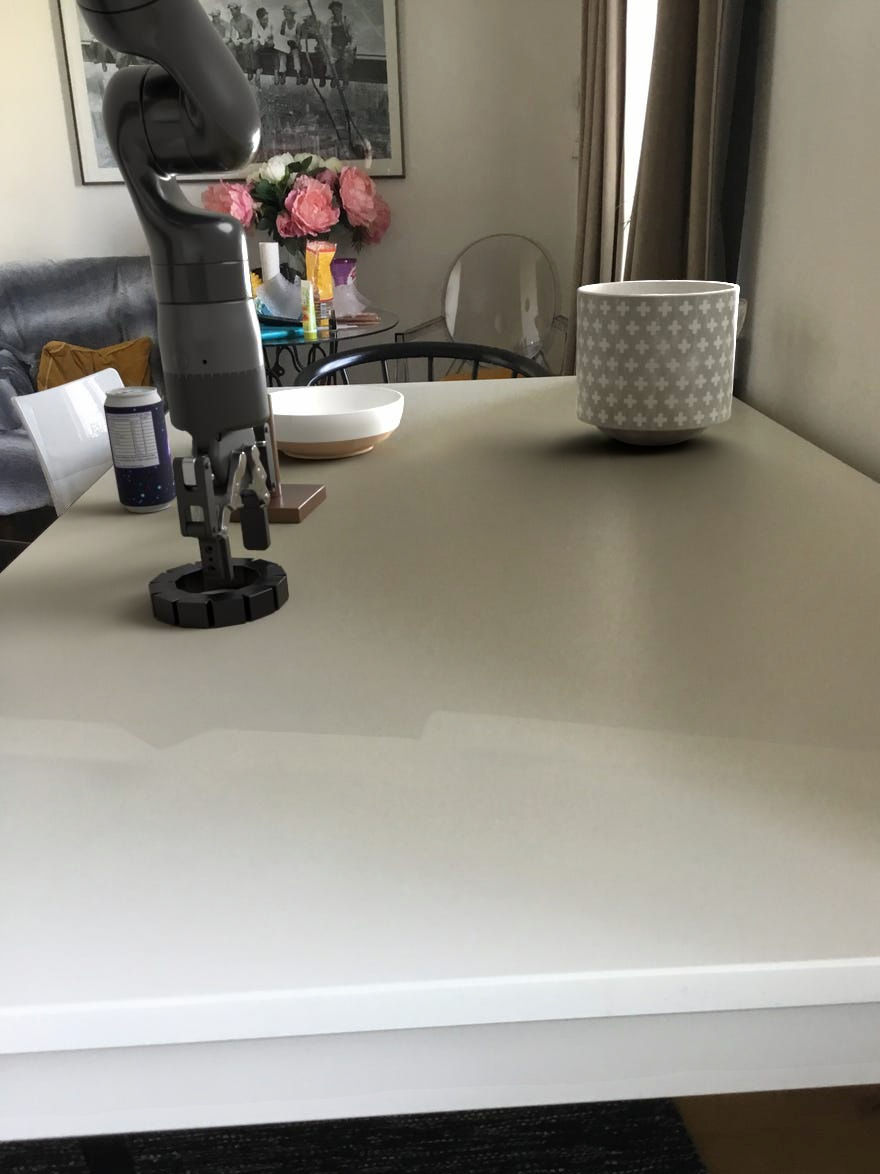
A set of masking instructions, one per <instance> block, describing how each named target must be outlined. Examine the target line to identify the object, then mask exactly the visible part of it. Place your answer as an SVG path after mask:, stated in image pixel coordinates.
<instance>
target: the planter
mask: <svg viewBox="0 0 880 1174" xmlns="http://www.w3.org/2000/svg"><path fill="white" fill-rule="evenodd" d="M739 295H740V286H739V285H738V284H734V283H728V282H721V281H710V280H709V281H705V280H634V281H633V280H632V281H616V282H615V281H614V282H603V283H595V284H588V285H583V286H579V287H578V288H577V289H576V358H575V359H576V361H575V362H576V363H575V365H576V367H575V370H576V371H575V372H576V375H575V376H576V377H575V379H576V380H575V417H576V419H578V420H579V421H580V422H583V423H585V424H588V425H592V426H595V427H596V428H597V429H598V430H599V431H601V432H602V433H603V434H605V435H607V436H609V437H611V438H612V439H615V440H617V441H620V442H622V443H626V444H629V445H635V446H646V447H647V446H649V447H650V446H651V447H656V446H657V447H660V446H670V445H675V444H680V443H682V442H685V441H689V440H690V439H692V438H695V437H696V436H698V435H700V434H703V432H705V431H706V430H707V429H708V428H710V427H712V426H717V425H721V424H723V423H725V422H727V421H728V420H729V419H730V418H731V415H732V404H733V403H732V402H733V401H732V400H733V388H734V387H733V386H734V373H735V356H736V342H737V341H736V340H737V329H738V328H737V326H738V311H739V310H738V309H739V297H740V296H739Z"/></svg>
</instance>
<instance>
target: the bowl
mask: <svg viewBox="0 0 880 1174" xmlns="http://www.w3.org/2000/svg"><path fill="white" fill-rule="evenodd" d="M268 394H271V395H272V405H273V415H274V424H275V434H276V443H277V450H278V451H281V452H283V453H284V454H285V455H287V456H288V457H292V458H295V459H305V460H331V459H341V458H342V459H343V458H349V457H353V456H359V455H361V454H365V453H368V452H370V451H371V450H372V449H373V448H374V446H375V445H377V444H379V443H381V442H383V441H385V440H386V439H387V438H389V437H390V435H391V434H392V433H393V432H394V431H395V430H396V428H397V427H399V425H400V421H401V418H402V415H403V411H404V395H403V394H402V393H401V392H399V391H397V390H393V389H390V388H384V387H378V386H377V387H375V386H366V385H365V386H364V385H363V386H361V385H335V386H334V385H330V386H329V385H327V386H314V387H303V388H294V389H286V390H281V391H280V390H279V391H274V392H268Z"/></svg>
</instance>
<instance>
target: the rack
mask: <svg viewBox="0 0 880 1174" xmlns="http://www.w3.org/2000/svg"><path fill="white" fill-rule="evenodd" d="M267 394H268V403H269V412H270V416H269V418H268V420H267V421H266V422H267V423H268V425H269V431H270V439H271V447H272V455H273V462H274V470H275V478H276V490H275V492H269V494H270V501H269V504H268V505H265V506H267V515H268V523H282V524H283V523H286V524H287V523H288V524H291V523H292V524H301V523H302V522H303V520H305V519H306V518H307V517H308V516H309V515H310V514H311V513H312V512H313V511H314V510H316V509H317V508H318V506H320V505H321V504H322V503H323V502H324V501H325V500H326V499H327V488H326V484H325V483H322V484H318V483H315V484H313V483H282V481H281V473H280V472H281V471H280V464H279V463H280V462H279V454H278V453H279V452H278V449H277V443H276V434H275V424H274V415H273V405H272V395H271V394H269V393H267ZM263 468H264V467H263ZM241 506H244V504H239V503H238V506H237V509H236V510H235V511H233V512H231V514H230V521H229V522H235V523H236V522H237V523H241V522H240V514H239V508H240V507H241ZM216 517H217V518H218V511H216Z"/></svg>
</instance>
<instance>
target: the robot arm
mask: <svg viewBox="0 0 880 1174" xmlns="http://www.w3.org/2000/svg"><path fill="white" fill-rule="evenodd" d="M75 2H76V5H77V7H78V9H79V11H80V14H81V16H82V18H83V21H84V22H85V24H86V27H87V28H88V30H89V32H90V33H91V35H92V36H93V37H94V39H95V40H96V41H97V42H98V43H99V44H100V45H102V46H104V48H107V49H109V50H111V51H114V52H117V53H119V54H120V53H121V54H125V55H128V56H133V57H137V58H141V59H144V60H148V61H150V62H153V63H154V64H136V65H128V66H124V67H121V68H119V69H118V70H116V71H115V72H114V73H113V74H112V76H111V77H110V78H109V80H108V82H107V84H106V86H105V89H104V91H103V96H102V103H101V119H102V127H103V131H104V134H105V138H106V140H107V144H108V147H109V149H110V151H111V154H112V157H113V159H114V161H115V164H116V166H117V168H118V171H119V172H120V175H121V178H122V180H123V182H124V184H125V186H126V189H127V191H128V194H129V196H130V199H131V203H132V204H133V207H134V210H135V212H136V215H137V218H138V221H139V223H140V226H141V230H142V232H143V235H144V238H145V240H146V244H147V247H148V254H149V259H150V260H149V261H150V267H151V274H152V281H153V288H154V295H155V300H156V310H157V338H158V339H157V340H158V345H159V346H158V347H159V352H160V357H161V358H160V359H161V365H162V373H163V379H164V386H165V394H166V399H167V400H166V401H167V407H168V413H169V419H170V424H171V425H172V427H173V428H175V429H176V430H178V431H181V432H186V433H187V434H189V435H190V437H191V456H175V457H173V459H172V469H173V476H174V483H175V490H176V498H175V499H176V505H177V512H178V521H179V528H180V529H179V530H180V534H181V536H182V537H183V538H194V539H197V540H198V541H197V542H198V547H199V553H200V561H201V562H202V569H203V576H204V580H205V581H206V582H207V583H208V584H228V583H230V582H231V581H232V580H233V578H234V573H233V565H232V558H233V557H232V551H231V543H230V537H229V535H228V534H229V527H230V522H231V521H230V514H231V512H233V511H235V510H236V509H237V506H238V503H239V504H244V506H241V507H240V508H239V514H240V522H239V523H240V530H241V537H242V544H243V548H244V549H245V550H247V551H258V552H260V551H261V552H263V551H267V550H268V549H269V548H270V547H271V545H272V541H271V534H270V533H271V532H270V524H269V523H270V522H268V515H267V506H265V505H268V504H269V501H270V494H269V492H275V490H276V478H275V470H274V462H273V455H272V447H271V439H270V431H269V425H268V423H267V422H266V421H267V420H268V418H269V416H270V412H269V403H268V394H269V393H268V385H267V377H266V376H267V375H266V367H265V366H266V365H265V358H264V349H263V340H262V332H261V326H260V322H259V317H258V314H257V313H258V312H257V309H256V304H255V299H254V298H255V297H253V296H254V293H253V282H252V274H251V265H250V264H251V263H250V255H249V245H248V239H247V233H246V230H245V227H244V225H243V223H242V222H241V220H240V219H239V218H237V217H236V216H234V215H232V214H230V213H229V214H228V213H225V212H221V211H215V210H210V209H205V208H201V207H198V206H195V205H194V204H193V203H191V202H190V200H188V198H187V197H186V195H185V194H184V192H183V191H182V189H181V187H180V185H179V182H178V180H177V177H185V176H186V177H187V176H207V175H209V176H215V175H230V174H235V173H239V172H241V171H244V170H245V169H246V168H248V167H249V166H250V165H251V163H253V161H255V158H256V156H257V154H258V152H259V149H260V146H261V145H260V144H261V142H262V117H261V112H260V108H259V104H258V101H257V98H256V95H255V93H254V91H253V88H252V86H251V83H250V81H249V79H248V78H247V76H246V74H245V72H244V70H243V69H242V67H241V65H240V64H239V62H238V60H237V59H236V58H235V56H234V55H233V53H232V51H231V50H230V49H229V47H228V46H227V44H226V42H225V41H224V39H223V37H222V35H220V33H219V31H218V30H217V29H216V26H215V25H214V24H213V22H212V20H211V19H210V16H209V15H208V13H207V11H206V10H205V8H204V6H203V5H202V3H201V1H200V0H75ZM263 467H264V468H263ZM192 507H193V515H192ZM216 511H218V518H217V517H216Z"/></svg>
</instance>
